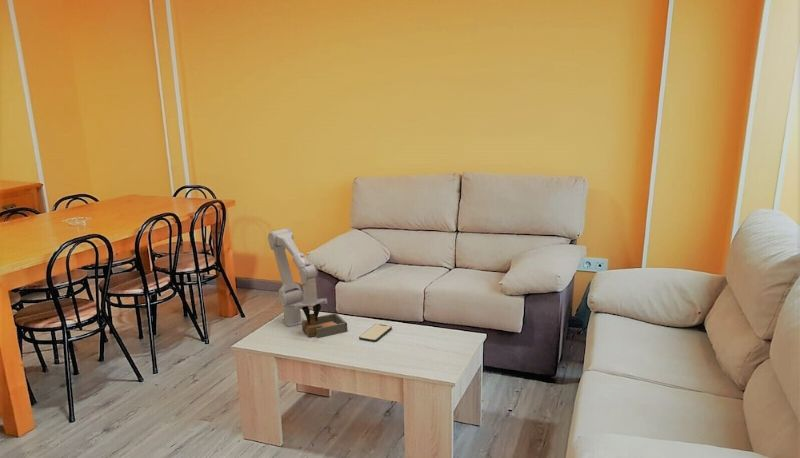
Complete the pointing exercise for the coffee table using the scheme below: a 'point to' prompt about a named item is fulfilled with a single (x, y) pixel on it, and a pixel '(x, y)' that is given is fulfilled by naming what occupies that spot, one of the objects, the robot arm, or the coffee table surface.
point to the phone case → (375, 333)
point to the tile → (327, 324)
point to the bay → (332, 329)
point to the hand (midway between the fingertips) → (312, 321)
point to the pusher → (310, 326)
